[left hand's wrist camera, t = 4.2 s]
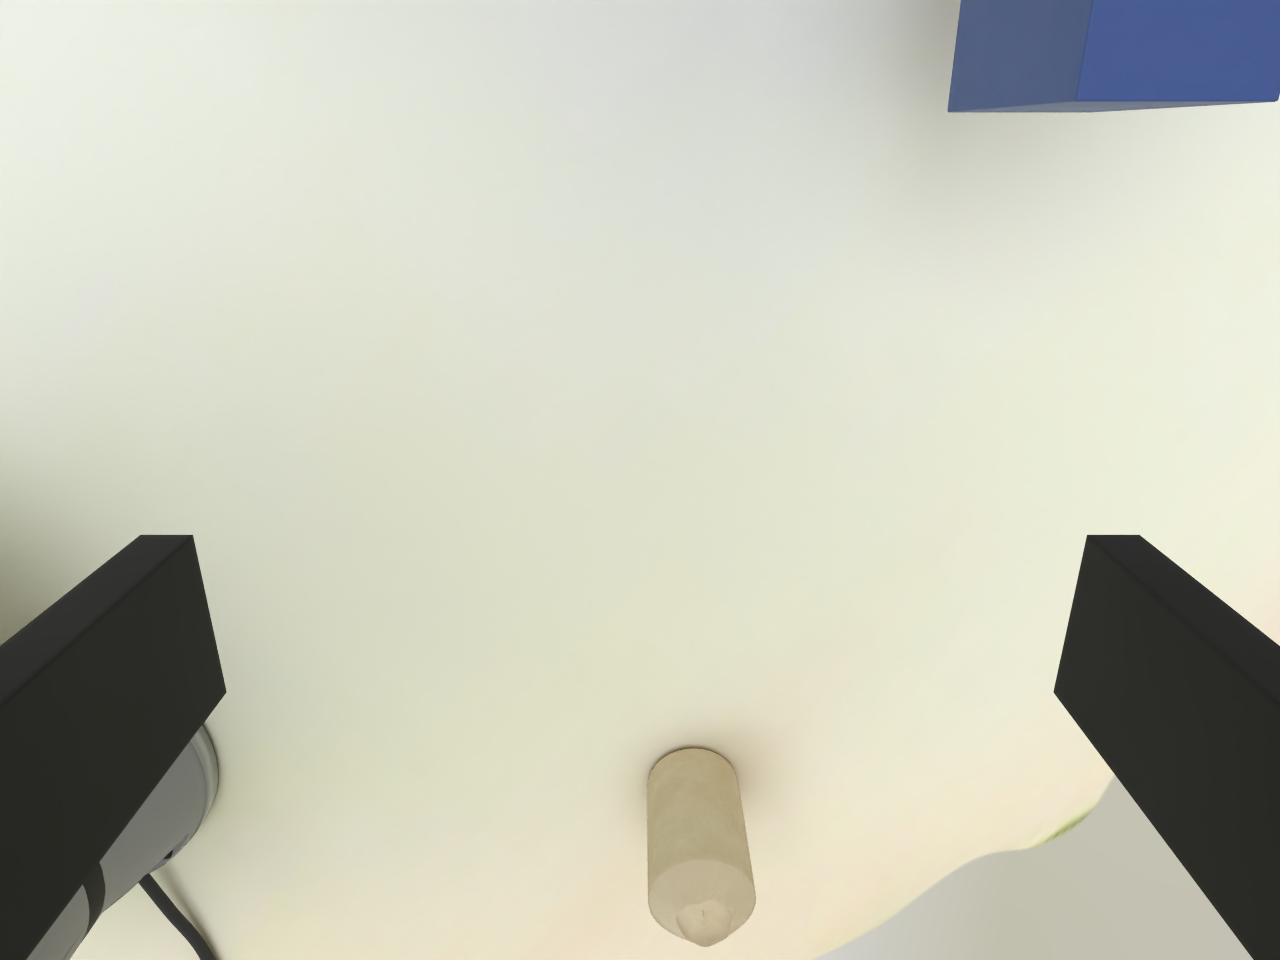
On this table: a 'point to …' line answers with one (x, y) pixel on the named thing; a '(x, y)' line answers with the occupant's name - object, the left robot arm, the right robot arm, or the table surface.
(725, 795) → the candle
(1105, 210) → the table surface
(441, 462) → the table surface
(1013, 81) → the bar
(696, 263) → the table surface
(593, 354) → the table surface
